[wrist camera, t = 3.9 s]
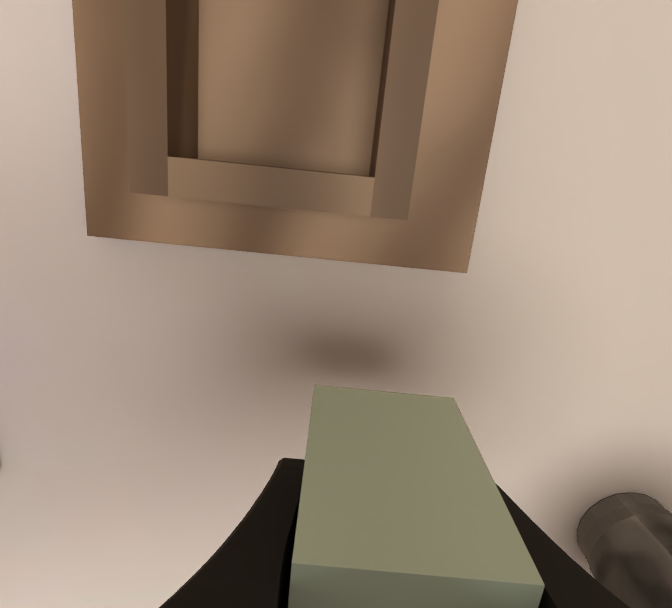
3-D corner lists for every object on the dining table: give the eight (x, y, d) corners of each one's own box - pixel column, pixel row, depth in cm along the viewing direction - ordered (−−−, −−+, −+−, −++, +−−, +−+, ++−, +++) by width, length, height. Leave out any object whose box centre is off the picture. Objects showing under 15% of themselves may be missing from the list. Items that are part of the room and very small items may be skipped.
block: (303, 500, 14) (276, 735, 8) (314, 385, 13) (291, 563, 7) (430, 511, 14) (494, 753, 8) (453, 397, 13) (544, 585, 7)
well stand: (100, 232, 18) (37, 248, 15) (78, -164, 15) (-16, -282, 11) (460, 267, 19) (491, 293, 15) (529, -113, 15) (594, -210, 11)
